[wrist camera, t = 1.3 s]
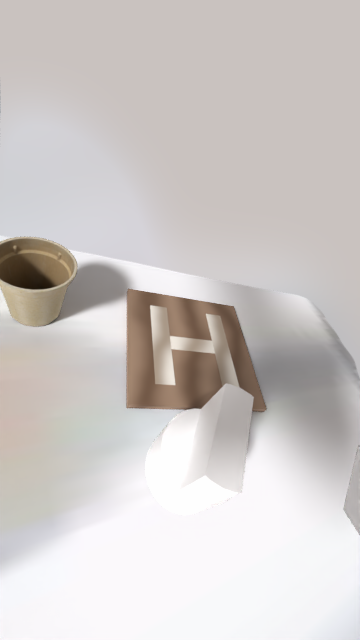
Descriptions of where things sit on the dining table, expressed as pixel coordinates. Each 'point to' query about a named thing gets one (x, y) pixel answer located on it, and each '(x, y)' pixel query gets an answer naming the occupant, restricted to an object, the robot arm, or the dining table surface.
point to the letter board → (184, 352)
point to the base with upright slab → (202, 454)
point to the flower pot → (35, 278)
